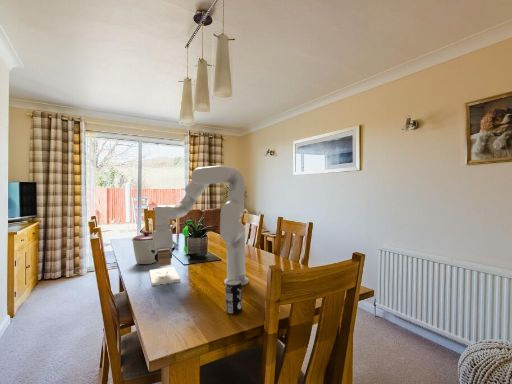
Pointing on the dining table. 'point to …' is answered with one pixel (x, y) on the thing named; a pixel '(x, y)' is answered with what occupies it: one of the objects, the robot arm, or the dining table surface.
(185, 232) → the plastic bottle
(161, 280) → the board
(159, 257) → the block
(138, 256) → the canister
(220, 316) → the dining table surface
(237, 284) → the beverage can
